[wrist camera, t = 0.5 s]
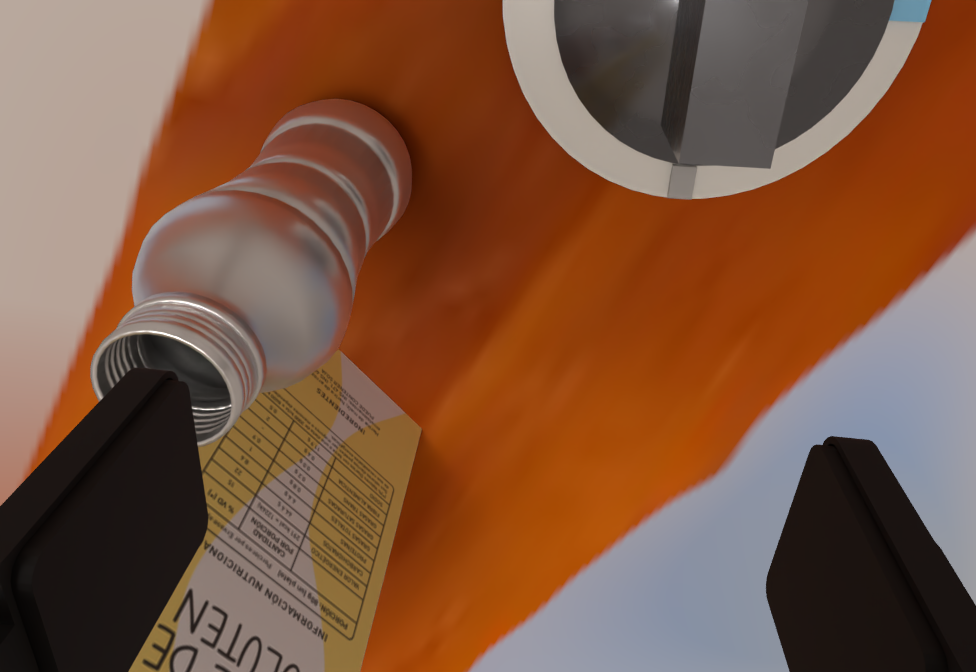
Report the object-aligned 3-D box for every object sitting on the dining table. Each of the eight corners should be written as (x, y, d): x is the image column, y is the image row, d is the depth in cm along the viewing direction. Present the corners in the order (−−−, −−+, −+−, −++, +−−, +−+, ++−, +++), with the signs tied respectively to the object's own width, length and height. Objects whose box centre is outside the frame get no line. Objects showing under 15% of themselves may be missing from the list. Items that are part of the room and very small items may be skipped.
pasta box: (224, 562, 50) (-84, 1171, 26) (95, 463, 47) (-398, 1059, 23) (421, 428, 44) (254, 1082, 19) (288, 301, 40) (-120, 904, 16)
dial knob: (568, -203, 26) (571, -234, 20) (929, -191, 25) (1037, -219, 19) (542, 146, 32) (540, 198, 26) (834, 163, 31) (895, 219, 25)
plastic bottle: (301, 64, 34) (36, 226, 17) (441, 123, 35) (327, 337, 17) (268, 191, 37) (16, 439, 20) (397, 242, 38) (264, 524, 21)
